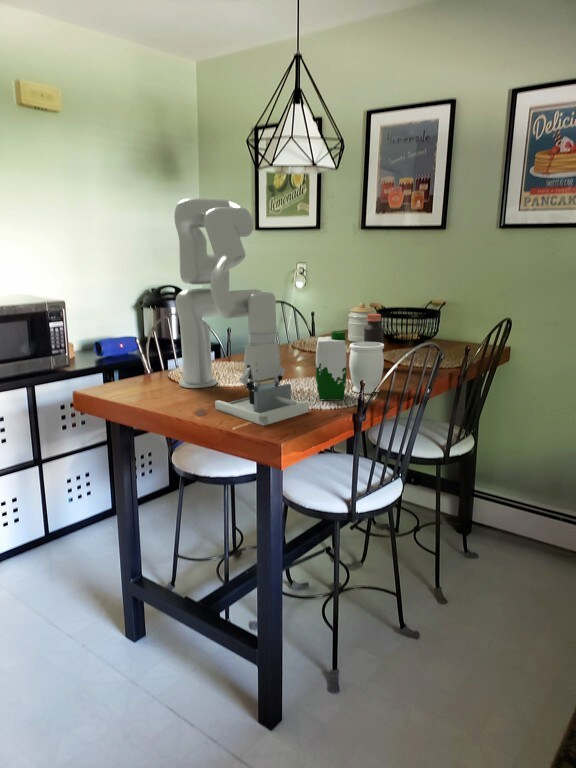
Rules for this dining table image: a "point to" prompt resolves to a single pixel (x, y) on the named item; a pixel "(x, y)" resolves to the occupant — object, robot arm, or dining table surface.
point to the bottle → (373, 329)
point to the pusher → (273, 398)
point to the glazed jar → (265, 385)
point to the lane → (246, 412)
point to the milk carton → (331, 366)
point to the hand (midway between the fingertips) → (264, 401)
